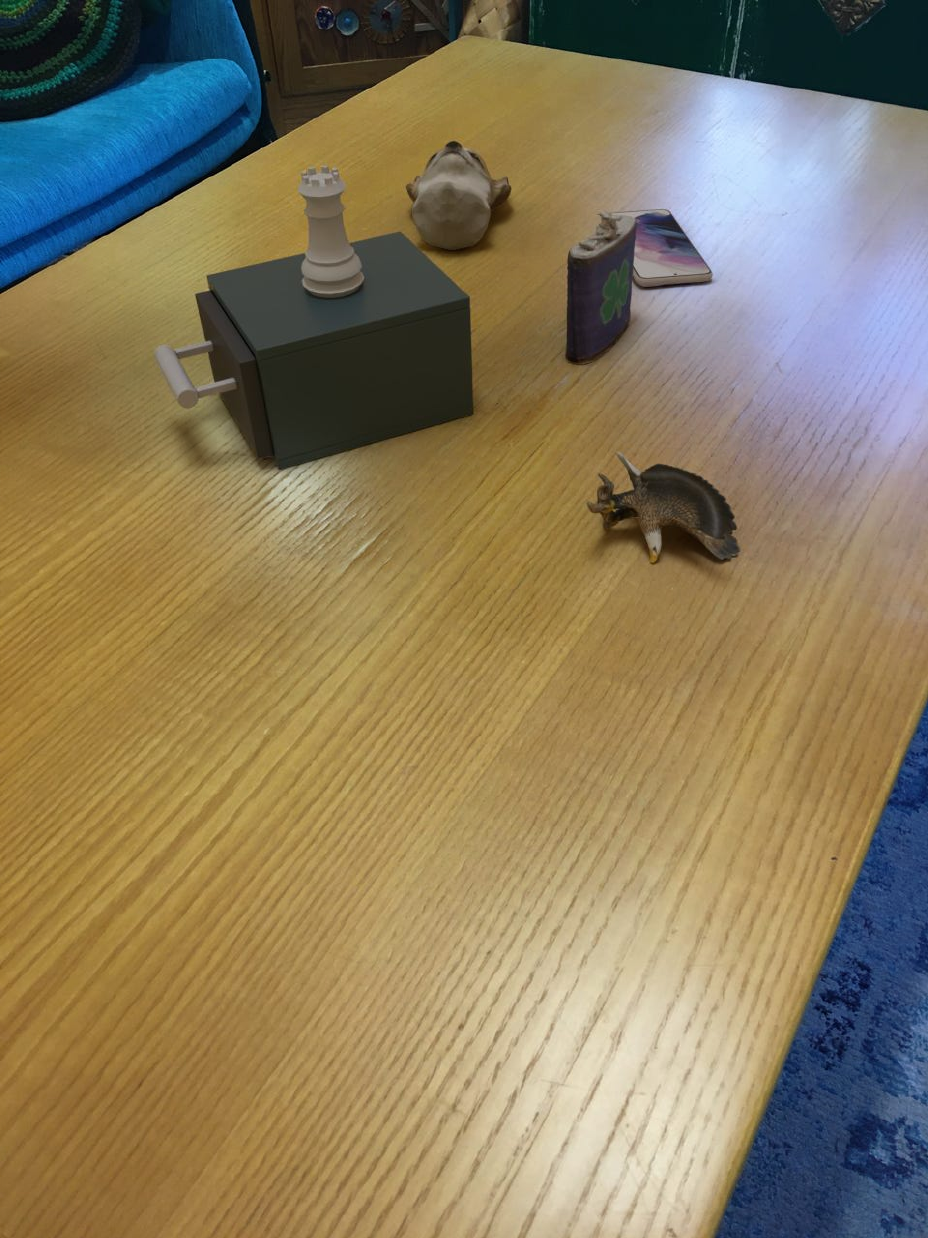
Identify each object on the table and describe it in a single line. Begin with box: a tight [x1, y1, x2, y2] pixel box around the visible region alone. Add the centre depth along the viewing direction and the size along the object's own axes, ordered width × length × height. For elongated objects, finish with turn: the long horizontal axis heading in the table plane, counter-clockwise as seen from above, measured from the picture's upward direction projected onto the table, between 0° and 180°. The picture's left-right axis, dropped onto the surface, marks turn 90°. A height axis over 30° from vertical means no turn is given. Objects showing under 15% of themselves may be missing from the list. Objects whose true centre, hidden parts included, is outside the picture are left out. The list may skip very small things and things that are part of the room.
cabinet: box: [205, 231, 474, 471], centre depth 80 cm, size 16×13×10 cm
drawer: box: [153, 290, 274, 460], centre depth 79 cm, size 19×11×8 cm, turn 115°
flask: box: [565, 210, 637, 365], centre depth 85 cm, size 9×3×11 cm, turn 148°
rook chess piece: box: [297, 165, 364, 298], centre depth 74 cm, size 4×4×8 cm
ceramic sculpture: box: [405, 140, 512, 251], centre depth 103 cm, size 11×9×15 cm
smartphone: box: [600, 208, 714, 288], centre depth 100 cm, size 7×1×15 cm
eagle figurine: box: [586, 451, 741, 564], centre depth 67 cm, size 8×7×9 cm
